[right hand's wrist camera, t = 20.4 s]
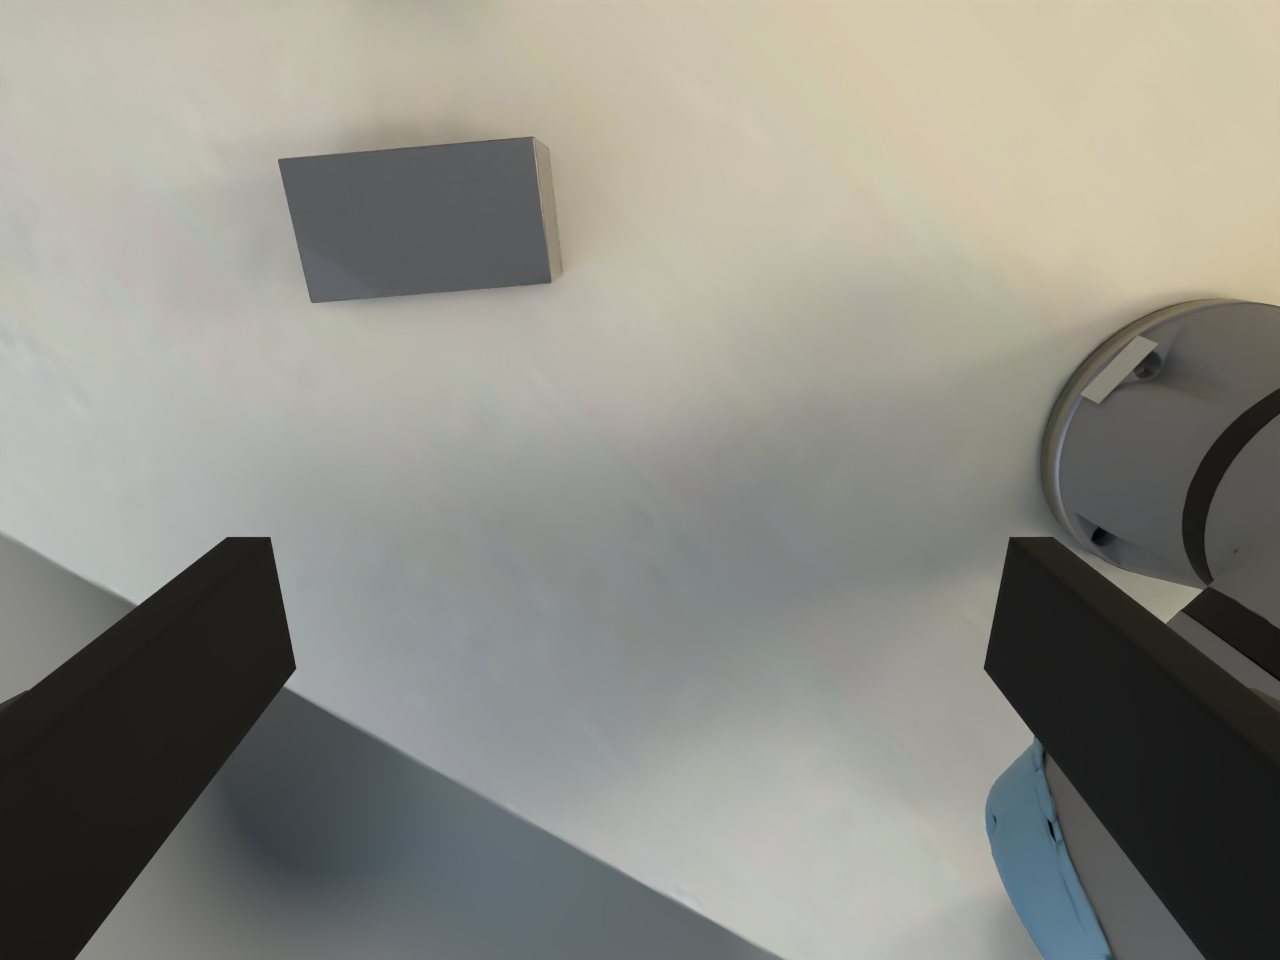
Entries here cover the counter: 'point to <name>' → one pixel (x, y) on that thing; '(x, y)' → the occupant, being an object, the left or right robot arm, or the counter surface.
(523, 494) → the counter surface
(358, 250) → the grey block
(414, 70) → the counter surface
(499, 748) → the counter surface
